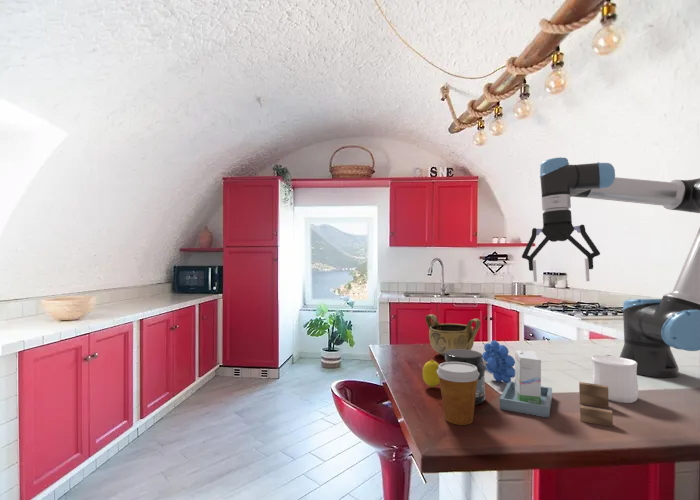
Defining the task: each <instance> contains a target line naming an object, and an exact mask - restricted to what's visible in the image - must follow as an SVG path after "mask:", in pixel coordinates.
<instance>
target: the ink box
mask: <svg viewBox="0 0 700 500" xmlns="http://www.w3.org/2000/svg"><path fill="white" fill-rule="evenodd" d="M514 355H515V358H514V360H515V365H514V369H515V377H514V382H515V395H516V397H517V399H518V401H523V402H529V403H535V404H540V405H541V386H542V359H540V357H539V356H538V354H537V353H536V352H535V351H532V350H529V351H527V350H519V349H518V350H515V354H514Z"/></svg>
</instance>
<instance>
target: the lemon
mask: <svg viewBox="0 0 700 500" xmlns="http://www.w3.org/2000/svg"><path fill="white" fill-rule="evenodd" d="M439 365H440V363H438V362H437V361H435V360H434V359H430V360H429V361H427V362H425V364H424V365H423V366H422V367H423V368H422V379H423V381H424V383H425V384H426V385H428V386H429V387H430V388H432V389H434V388H435V387H436V386H438V385H440V381H439V376H438V374H437V369H438V367H439Z"/></svg>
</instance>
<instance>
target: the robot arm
mask: <svg viewBox="0 0 700 500" xmlns="http://www.w3.org/2000/svg"><path fill="white" fill-rule="evenodd" d="M539 178H540V190H541V209H542V210H541V211H543V213H542V224H543V225H542V228H536V227H533V228H532V229H531V236H530V239H529V241H528V242H527V244H526V247H525V249H524V251H523V253H522V255H521V258H522V259H525V260H527V261H528V270H529V271H531V272H533V275H532V276H533V283H535V282H536V283H537V281H538V279H537V278H538V275H537V260H535V257H536V256H537V255H538V254H539V252H540V251H541V250H542V249H543V248H544V247H545V246H546V245H547V243H548V242H549V241H550V242H552V243H555V242H565V241H569V242H570V243H571V244H572V245H574V247H576V248H577V249H578V250H579V251H580V252H581V253H582V254H584V255H585V257H586V258H584V271H585V281H586V282H590V270H593V269H594V258H596V257H599V256H600V255H601V252H600V251H599V249H598V248H597V246H596V245H595V243H594V242H593V240H592V239H591V237H590V236H589V234H588V233H587V231H586V225H584V224H580V225H573V221H572V219H573V218H572V211H571V210H570V209H571V207H572V206H571V198H572V197H574V198H584V199H592V200H593V199H594V200H602V201H603V200H604V201H612V202H613V201H614V202H625V203H632V204H644V205H653V206H661V207H662V206H663V208H665V210H670V211H678V212H679V211H680V212H688V213H695V214H700V178H695V179H685V180H684V179H674V180H671V181H670V182H669V181H659V180H650V179H638V178H628V177H616V170H615V167H614V166H613V165H612V163H610V162H593V163H580V164H570V163H569V160H568V158H567V157H561V156H559V157H553V158H548V159H546V160H545V159H544V161H542V162H541V163H540V168H539ZM574 231H576V232H577V233H578V234H579V233H580V234H581V237H582V239H584V241H585V242H586V244H587V245H588V246H589V248H590V250H591V252H590V251H588V249H587V248H585V247H584V246H583V245H582V244H581V243H580V242H578V240H576V239H575V238H574V237H573V236H572V233H574ZM541 233H542V234H543V235H544V239H543V240H542V241H541V242H540V243H539V244H538V246H536V248H535V249H534V250H533V252H531V254H530V255H529V252H530V250H531V248H532V246H533V244H534V242H535V241H536V238H537V236H539V235H540V234H541ZM622 317H623V318H622V319H623V320H622V321H623V341H624V342H623V347H622V349H621V352H620V355H619V357H621V358H626V359H630V360H633V361H636V362H637V375H639V376H640V375H641V376H647V377H653V378H675V377H676V378H677V377H678V376H679V373H680V372H679V371H680V370H679V366H678V363H677V360H676V358H675V356H674V353H673V352H672V350H671V348H674V349H677V350H681V351H682V350H683V351H687V352H699V351H700V227H699V228H698V230H697V233H696V235H695V238H694V240H693V243H692V245H691V247H690V249H689V252H688V254H687V257H686V259H685V261H684V263H683V265H682V268H681V270H680V272H679V275H678V277H677V280H676V282H675V284H674V287H673V289H672V291H670V292H668V293H666V294H663V296H662V298H647V299H646V298H639V299H638V298H636V299H625V300H624V301H623V305H622Z"/></svg>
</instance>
